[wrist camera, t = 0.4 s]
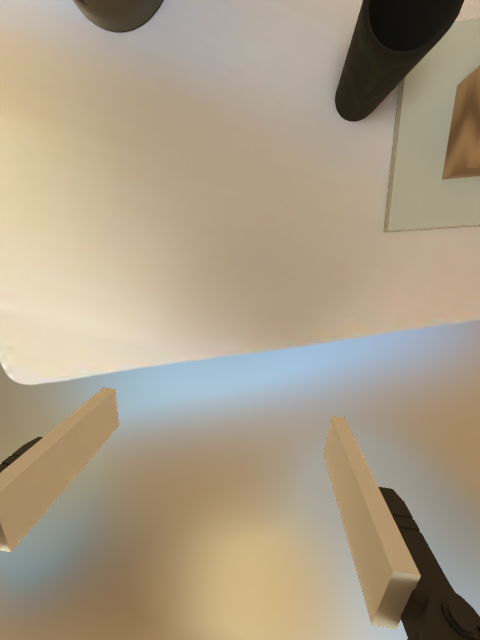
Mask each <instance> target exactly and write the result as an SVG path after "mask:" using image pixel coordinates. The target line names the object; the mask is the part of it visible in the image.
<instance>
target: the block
mask: <svg viewBox="0 0 480 640" xmlns="http://www.w3.org/2000/svg"><path fill="white" fill-rule="evenodd" d="M475 176H480V66H479V67H478V68H477V69H475V70H474V71H473V72H472V73H471V74H470V75H469V76H468V77H466V78H465V79H464V80H463V81H462V82H461V83H460V84H458V85H457V89H456V95H455V101H454V108H453V114H452V120H451V126H450V132H449V138H448V145H447V151H446V157H445V163H444V169H443V175H442V179H453V178H464V177H475Z"/></svg>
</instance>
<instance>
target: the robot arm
mask: <svg viewBox="0 0 480 640" xmlns="http://www.w3.org/2000/svg"><path fill="white" fill-rule="evenodd" d="M73 1H74V3H75V4H76V5H77V6H78V8H79V9H80V10H81V12H82V13H83V14H84V15H85V16H86V17H87V18H88V19H89V20H90V21H92V22H93V23H94V24H96V25H98V26H100V27H102V28H104V29H106V30H110V31H117V32H121V31H128V30H132V29H134V28H136V27H138V26H140V25H142V24H143V23H145V22H146V21H147V20H148V19H149V18H150V17H151V16H152V15H153V14H154V13H155V11H156V10H157V8H158V7H159V5H160V4H161V2H162V0H73ZM118 426H119V421H118V412H117V403H116V394H115V389H110V388H103V389H101V390H100V391H99V392H98V393H97V394H95V395H94V396H93V397H92V398H91V399H89V400H88V401H87V402H86V403H84V404H83V405H82V406H81V407H80V408H78V409H77V410H76V411H75V412H74V413H72V414H71V415H70V416H69V417H67V418H66V419H65V420H64V421H63V422H61V423H60V424H59V425H58V426H57V427H55V428H54V429H53V430H52V431H50V432H49V433H48V434H47V435H46V436H44V437H38V438H36V439H34V440H32V441H30V442H28V443H26V444H25V445H23V446H22V447H21V448H19V449H18V450H17V451H16V452H14V453H13V454H12V456H9V457H8V458H7V459H6V460H4V461H3V462H2V464H1V465H0V550H2V551H8V552H11V551H12V550H13V549H14V548H15V547H16V545H17V544H18V543H19V542H20V541H21V540H22V538H23V537H24V536H25V535H26V534H27V533H28V531H29V530H30V529H31V528H32V527H33V526H34V524H35V523H36V522H37V521H38V520H39V518H40V517H41V516H42V515H43V514H44V513H45V512H46V510H47V509H48V508H49V507H50V506H51V504H52V503H53V502H54V501H55V500H56V499H57V497H58V496H59V495H60V494H61V493H62V492H63V490H64V489H65V488H66V487H67V486H68V485H69V483H70V482H71V481H72V480H73V479H74V478H75V476H76V475H77V474H78V473H79V472H80V470H81V469H82V468H83V467H84V466H85V464H87V462H88V461H89V460H90V459H91V458H92V457H93V455H94V454H95V453H96V452H97V451H98V450H99V448H100V447H101V446H102V445H103V444H104V442H105V441H106V440H107V439H108V438H109V437H110V435H111V434H112V433H113V432H114V431H115V430H116V428H117V427H118ZM323 455H324V459H325V462H326V466H327V469H328V473H329V476H330V479H331V483H332V487H333V490H334V494H335V497H336V501H337V504H338V508H339V511H340V515H341V518H342V522H343V525H344V529H345V533H346V536H347V539H348V543H349V547H350V550H351V554H352V556H353V561H354V564H355V568H356V571H357V575H358V578H359V582H360V585H361V589H362V592H363V596H364V599H365V603H366V606H367V610H368V613H369V617H370V620H371V624H372V625H377V626H382V627H387V628H392V629H396V628H397V626H398V624H399V622H400V620H402V623H403V625H404V628H405V631H406V634H407V636H408V639H407V640H480V617H479V615H478V614H477V613H476V612H475V610H474V609H473V608H472V607H471V606H470V605H469V604H468V603H467V602H466V601H465V600H464V599H463V598H462V597H461V596H459V595H458V594H456V593H455V591H454V590H453V588H452V587H451V585H450V584H449V582H448V580H447V578H446V577H445V575H444V573H443V571H442V569H441V568H440V566H439V564H438V562H437V560H436V558H435V557H434V555H433V553H432V551H431V549H430V548H429V546H428V544H427V542H426V541H425V539H424V537H423V535H422V533H420V531H419V528H418V526H417V524H416V523H415V521H414V520H413V518H412V515H411V514H410V512H409V510H408V508H407V506H406V504H405V503H404V501H403V500H402V499H401V498H400V497H399V496H398V495H397V494H396V492H395V491H394V490H393V489H389V488H382V487H378V486H377V484H376V481H375V479H374V477H373V475H372V473H371V471H370V469H369V467H368V465H367V463H366V460H365V458H364V457H363V454H362V452H361V450H360V448H359V446H358V444H357V442H356V440H355V438H354V436H353V433H352V431H351V429H350V427H349V425H348V423H347V421H346V419H345V418H340V417H333V416H331V420H330V425H329V429H328V434H327V439H326V443H325V448H324V453H323Z"/></svg>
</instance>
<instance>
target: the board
mask: <svg viewBox="0 0 480 640" xmlns="http://www.w3.org/2000/svg"><path fill="white" fill-rule="evenodd" d="M479 66H480V18H477V19H471V20H465V21H459V22H454V23H453V25H452V26H451V28H450V29H449V30H448V31H447V33H446V34H445V35H444V36H443V37H442V38H441V40H440V41H439V42H438V43H437V44H436V45H435V46H434V47H433V48H432V49H431V50H430V51H429V52H428V53H427V54H426V55H425V56H424V58H423V59H422V60H421V61H420V62H419V63H418V64H417V65H416V66H415V67H414V68H413V69H412V70H411V71H410V72H409V73H408V74H407V75H406V76H405V78H404V79H403V80H402V81H401V82H400V84H399V93H398V102H397V112H396V121H395V131H394V140H393V149H392V159H391V168H390V177H389V187H388V196H387V206H386V215H385V224H384V232H391V231H406V230H421V229H436V228H451V227H465V226H480V176H475V177H464V178H453V179H442V175H443V169H444V163H445V157H446V151H447V145H448V138H449V132H450V126H451V120H452V114H453V108H454V101H455V95H456V89H457V85H458V84H460V83H461V82H462V81H463V80H464V79H465V78H466V77H468V76H469V75H470V74H471V73H472V72H473V71H474V70H475V69H477V68H478V67H479Z"/></svg>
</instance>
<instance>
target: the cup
mask: <svg viewBox="0 0 480 640" xmlns="http://www.w3.org/2000/svg"><path fill="white" fill-rule="evenodd" d="M463 2H464V0H363V3H362V6H361V10H360V13H359V16H358V20H357V23H356V27H355V30H354V33H353V37H352V40H351V44H350V47H349V50H348V54H347V57H346V61H345V64H344V67H343V71H342V74H341V78H340V81H339V85H338V88H337V91H336V96H335V104H336V108H337V111H338V113H339V114H340V116H341V117H343V118H344V119H346V120H348V121H359V120H361V119H364V118H365V117H367V116H368V115H369V114H370V113H371V112H372V111H373V110H374V109H375V108H376V107H377V106H378V105H379V104H380V103H381V102H382V101H383V100H384V99H385V98H386V96H387V95H388V94H389V93H390V92H391V91H392V90H393V89H394V88H395V87H396V86H397V85H398V84H399V83H400V82H401V81H402V80H403V79H404V78H405V76H406V75H407V74H408V73H409V72H410V71H411V70H412V69H413V68H414V67H415V66H416V65H417V64H418V63H419V62H420V61H421V60H422V59H423V58H424V56H425V55H426V54H427V53H428V52H429V51H430V50H431V49H432V48H433V47H434V46H435V45H436V44H437V43H438V42H439V41H440V40H441V38H442V37H443V36H444V35H445V34H446V33H447V31H448V30H449V29H450V28H451V26H452V25H453V23H454V21H455V20H456V18H457V16H458V14H459V12H460V10H461V7H462V5H463Z"/></svg>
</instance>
